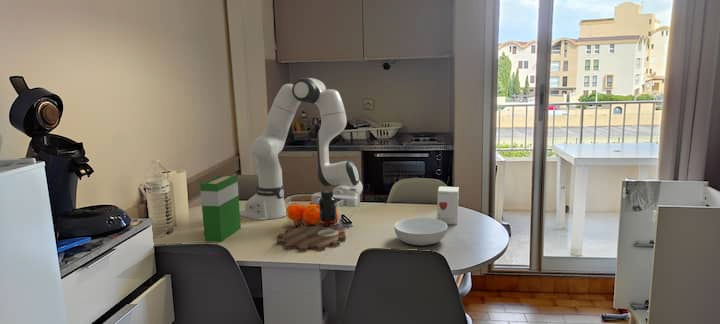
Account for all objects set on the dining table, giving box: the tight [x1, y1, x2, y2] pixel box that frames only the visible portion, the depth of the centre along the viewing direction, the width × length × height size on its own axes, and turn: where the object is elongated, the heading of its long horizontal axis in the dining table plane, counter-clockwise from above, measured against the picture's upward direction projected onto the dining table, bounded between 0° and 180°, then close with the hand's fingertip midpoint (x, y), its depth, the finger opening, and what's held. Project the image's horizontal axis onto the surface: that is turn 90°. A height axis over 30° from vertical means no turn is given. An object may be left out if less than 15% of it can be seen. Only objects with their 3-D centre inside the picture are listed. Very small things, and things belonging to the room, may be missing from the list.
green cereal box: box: [199, 173, 242, 243], centre depth 205 cm, size 18×7×24 cm, turn 168°
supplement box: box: [436, 186, 460, 225], centre depth 218 cm, size 9×9×15 cm
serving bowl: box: [393, 217, 449, 246], centre depth 194 cm, size 21×21×7 cm
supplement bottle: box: [318, 189, 337, 223], centre depth 200 cm, size 7×7×12 cm
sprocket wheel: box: [276, 224, 347, 253], centre depth 200 cm, size 28×28×2 cm
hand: (326, 204), depth 199 cm, fingers closed on supplement bottle, 7 cm apart
